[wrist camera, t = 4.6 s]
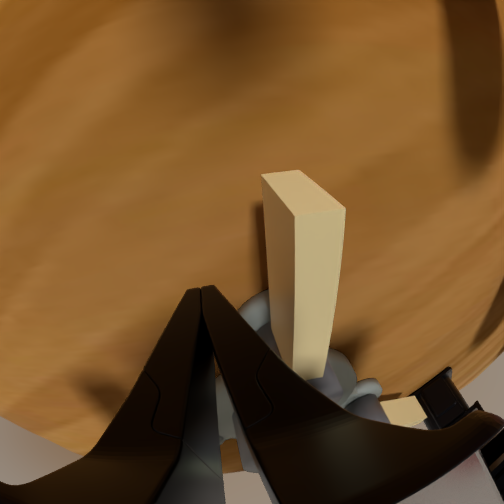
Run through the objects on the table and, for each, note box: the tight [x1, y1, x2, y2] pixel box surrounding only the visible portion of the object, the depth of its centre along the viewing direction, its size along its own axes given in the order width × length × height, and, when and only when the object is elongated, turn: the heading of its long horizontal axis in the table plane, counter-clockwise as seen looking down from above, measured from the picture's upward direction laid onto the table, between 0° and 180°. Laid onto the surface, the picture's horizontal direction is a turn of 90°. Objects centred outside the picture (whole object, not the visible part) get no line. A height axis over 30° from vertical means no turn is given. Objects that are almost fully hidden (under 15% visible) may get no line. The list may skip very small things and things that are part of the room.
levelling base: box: [215, 289, 382, 473], centre depth 16 cm, size 18×16×6 cm
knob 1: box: [256, 170, 346, 404], centre depth 10 cm, size 10×3×4 cm, turn 5°
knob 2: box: [345, 394, 427, 427], centre depth 20 cm, size 10×3×4 cm, turn 65°
